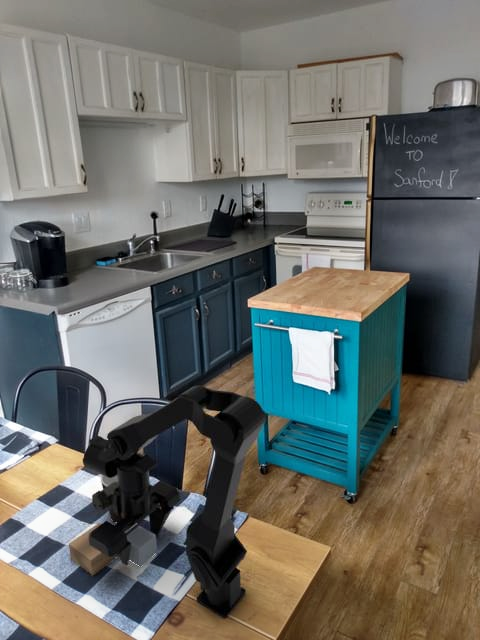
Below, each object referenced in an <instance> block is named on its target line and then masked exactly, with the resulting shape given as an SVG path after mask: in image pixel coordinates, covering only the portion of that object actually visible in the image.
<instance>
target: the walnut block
mask: <svg viewBox="0 0 480 640" xmlns="http://www.w3.org/2000/svg"><path fill="white" fill-rule="evenodd" d="M101 524H102V523H96V525H94V526H92V527H91V528H90V529H88V530H87V531H84V532H83V533H82V534H81V535H79V536H78V537H76V538H74V539H73V540H71V541H70V542H69V543H68V549H69V555H70V560H71V561H73V563H75V564H76V563H77V564H76V565H78V566H79V565H80V566H81V567H82V568H81V567H80V566H79V567H80V568H81V569H83V568H84V569H85V570H86V571H87V573H88V572H89V573H90V574H91V575H90V574H89V573H88V574H89V575H90V576H91V577H94V576H95V575H94V574H96V573H97V572H98V573H100V572H101V571H102V570H103V569H105V568H106V567H107V566H108V565H107V564H109V563H110V562H111V561H112V560H114V559H115V558H116V557H118V555H117V554H115V555H114V556H112V557H108V556H106V555H105V554H103V553H102V552H100V551H98V550H97V549H95V548H94V547H92V546H91V545H90V544H89V533H90V532H92V531H93V530H94V529H96V528H97V527H98V526H100V525H101ZM118 558H119V557H118ZM116 559H117V558H116ZM116 559H115V560H116ZM115 560H114V561H115ZM111 563H112V562H111ZM111 563H110V564H111ZM110 564H109V565H110ZM106 565H107V566H106ZM105 566H106V567H105ZM104 567H105V568H104ZM102 568H103V569H102ZM84 569H83V570H84ZM101 569H102V570H101ZM85 570H84V571H85ZM100 570H101V571H100ZM86 571H85V572H86ZM99 571H100V572H99ZM98 573H97V574H98ZM97 574H96V575H97ZM93 575H94V576H93Z"/></svg>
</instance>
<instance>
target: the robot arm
mask: <svg viewBox="0 0 480 640" xmlns="http://www.w3.org/2000/svg"><path fill="white" fill-rule="evenodd" d="M204 410H206V411H207V410H208V411H213V412H218V413H217V414H215V415H211V414H209V413H206V412H205V411H204ZM266 419H267V418H266V411H265V410H263V408H262V406H261V405H260V404H259V402H258V401H256V399H254V398H252V397H249V396H243V395H241V394H239V393H236V392H233V391H225V390H216V389H210V388H208V387H205V386H204V385H194V386H192V387H190V388H189V389H187V390H185V391H184V392H183V393H181V394H180V395H178V396H177V398H175V399H174V400H172V401H170V402H168V403H167V404H165V405H163V406H162V407H160V408H158V409H156V410H155V411H153V412H151V413H148V414H146V413H143V414H141V415H137V416H133V417H132V418H130V419H128V420H126V421H125V422H123V423H122V424H120V425H118V426H117V427H115V428H114V429H111V430H110V431H109V432H108V433H107V435H106V438H107V439H106V438H104V437H102V436H100V435H95V436H94V437H92V438H90V439H89V440H88V441H89V445H88V446H87V448H86V450H85V452H84V455H83V458H82V464H83V467H84V468H85V469H87V470H90V471H91V472H94V473H97V474H99V475H103V476H105V477H108V478H112V477H115V476H116V475H117V477H118V482H114V483H112V484H110V485H109V486H107V487H106V488H104V489H103V488H102V489H101V490H98V491H96V492H95V493H93V494H92V495H91V498H92V499H91V501H92V505H93V508H94V509H95V510H97V511H104V510H106V509H108V508H110V509H113V512H114V514H116V515H119V514H121V515H122V518H123V519H122V520H121V521H120V522H118V523H115V524H113V523H111V522H110V521H108V520H105V521H103V523H100V524H101V525H100V526H98V527H97V528H96V529H94V530H93V531H92V532H90V533H89V544H90V545H91V546H92V547H94V548H95V549H97V550H98V551H100V552H102V553H103V554H105V555H106V556H108V557H112V556H114V555H115V554H117V555H118V559H119V560H120V562H121V563H122V564H123V565H124V566H125V567H126V566H128V565H129V562H130V561H129V557H130V549H131V542H129V541H127V534H126V533H128V532H129V531H130V530H131V529H132V528H134V527H135V526H136V525H139V524H140V523H142V521H144V520H145V519H146V518H147V517H148V519H149V527H150V530H149V531H150V532H152V533H153V534H155V535H156V540H157V539H158V538H159V536H160V534H161V532H162V529H163V528H164V526H165V523H166V521H167V520H168V518H169V516H170V515H171V513H172V511H173V510H174V509H175V505H177V504H178V503H180V501H181V495H180V494H181V493H180V490H179V489H178V488H177V487H175V486H173V485H171V484H169V483H167V482H164V481H162V480H159V481H157V482H156V483H155V484H153V485H152V484H150V483H151V480H150V471H151V470H152V469H154V467H156V466H157V465H158V462H157V460H156V459H155V458H154V457H151V455H150V454H149V453H145V454H144V453H141V452H139V451H141V450H142V449H144V448H146V447H147V446H148V445H149V444H151V443H152V442H153V441H154V440H155V439H156V438H157V437H158V436H159V435H160V434H162V433H164V432H165V431H168V430H169V429H171V428H173V427H175V426H177V425H178V424H180V423H182V422H184V421H186V420H187V421H189V422H192V424H193V425H194V427H195V428H196V430H197V431H198V432H199V434H201V435H202V436H203V437H205V438H207V439H209V440H210V444H211V445H210V446H211V447H212V448H213V451H214V452H215V455H214V459H213V460H214V461H213V466H212V469H211V470H212V471H211V475H210V481H209V485H208V489H207V494H206V498H205V502H204V507H203V508H204V509H203V511H201V513H199V514H198V516H196V517H195V518H194V520H192V521H191V522H190V523H189V525H188V526H187V528H186V533H185V534H186V537H185V541H183V543H182V545H184V546H185V553H186V554H185V555H186V557H187V559H188V563H189V566H190V569H191V571H192V575H193V577H194V579H195V581H196V582H198V583H200V584H199V585H200V591H201V592H200V593H199V594H198V595H197V597H196V602H197V603H199V604H201V605H202V606H204V607H206V608H207V609H209V610H210V611H212V612H213V613H215V614H217V615H218V616H220V617H221V618H223V619H225V618H227V617H228V616H230V614H231V612H232V611H233V610H234V609H235V607H236V606H237V605H238V603H239V602H240V601H241V600H242V599H243V598H244V597H245V595H246V594H247V593H246V589H245V588H244V587H242V586H241V570H240V569H239V568H238V566H239V565H240V563H241V562H242V561H243V560H244V559H245V557H246V555H247V553H248V550H247V549H246V548H245V546H244V545H243V544H242V542H241V541H240V540H239V538H238V537H237V535H236V534H235V527H236V526H235V524H234V523H233V521H232V518H231V517H232V513H233V509H234V506H235V500H236V498H237V493H238V488H239V484H240V480H241V477H242V474H243V473H242V472H243V470H244V469H243V468H244V465H245V460H246V457H247V454H248V452H249V451H250V449H251V447H252V446H253V445H254V443H255V441H256V440H257V438H258V437H259V435H260V433H261V432H262V428H263V427H264V424H265V423H266Z"/></svg>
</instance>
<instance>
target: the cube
mask: <svg viewBox="0 0 480 640" xmlns="http://www.w3.org/2000/svg"><path fill="white" fill-rule="evenodd" d="M126 536H127V541H129V542H131V549H130V557H129V560H131V561H132V562H134V563H135V564H137V565H139V566H140V567H141V566H142V565H143V564H144V563H145V564H146V562H147V561H148V560H149V559H150V558H151V557H152V556H153V555H154V554H155V553H156V554H158V549H157V539H156V535H155V534H153V533H152V532H151V530H147V529H146V528H144V527H142V526H140V525H138V526H137V527H136V528H134V529H133V530H132V531H130V533H128V534H126ZM156 554H155V555H156ZM155 555H154V556H155ZM154 556H153V557H154ZM153 557H152V558H153ZM152 558H151V559H152ZM151 559H150V560H151ZM150 560H149V561H150ZM149 561H148V562H149ZM132 562H131V563H132ZM148 562H147V563H148ZM134 563H133V564H134ZM135 564H134V565H135ZM145 564H144V565H145ZM137 565H136V566H137ZM144 565H143V566H144ZM143 566H142V567H143ZM140 567H139V568H140ZM142 567H141V568H142Z"/></svg>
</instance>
